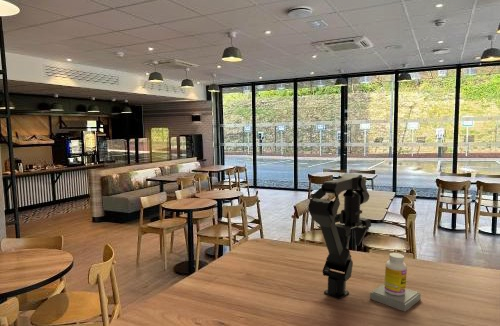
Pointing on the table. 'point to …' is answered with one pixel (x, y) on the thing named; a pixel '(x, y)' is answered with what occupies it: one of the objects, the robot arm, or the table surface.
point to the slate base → (395, 298)
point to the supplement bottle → (395, 275)
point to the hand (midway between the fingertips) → (350, 248)
